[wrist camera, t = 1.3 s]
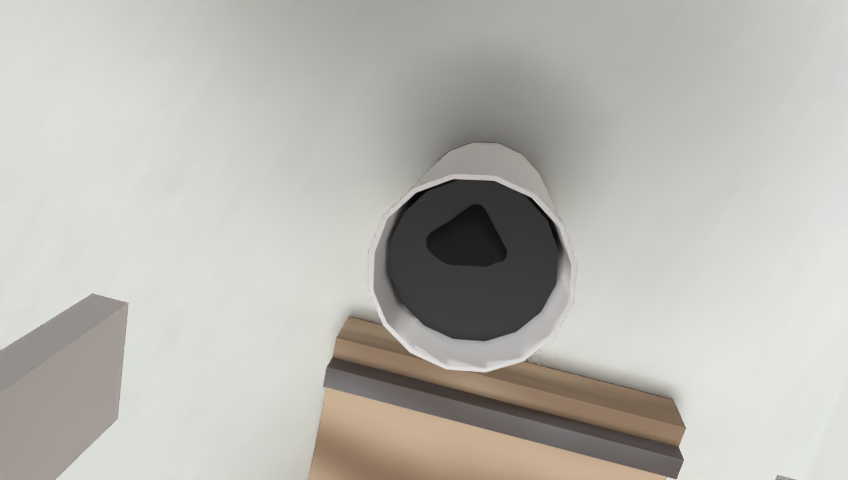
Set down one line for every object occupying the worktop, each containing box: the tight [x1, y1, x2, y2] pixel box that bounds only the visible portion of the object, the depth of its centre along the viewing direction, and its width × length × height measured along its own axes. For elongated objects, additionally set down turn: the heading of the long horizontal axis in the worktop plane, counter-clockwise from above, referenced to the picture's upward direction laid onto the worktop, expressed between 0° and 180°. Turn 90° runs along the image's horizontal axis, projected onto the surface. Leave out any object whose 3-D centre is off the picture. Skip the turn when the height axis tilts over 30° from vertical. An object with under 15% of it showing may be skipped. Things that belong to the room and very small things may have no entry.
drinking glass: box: [368, 142, 577, 372], centre depth 26 cm, size 7×7×10 cm
